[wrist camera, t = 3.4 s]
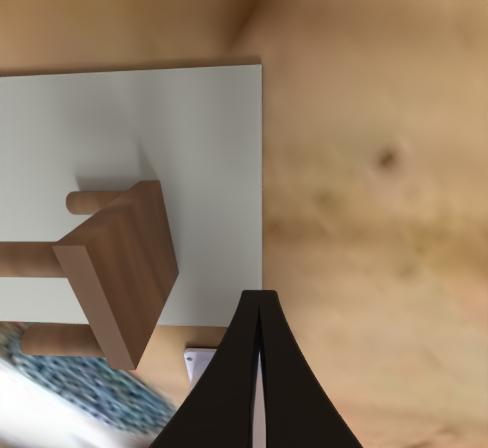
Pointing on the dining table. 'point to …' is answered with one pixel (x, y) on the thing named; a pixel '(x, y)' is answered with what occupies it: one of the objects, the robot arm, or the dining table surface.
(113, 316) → the stool
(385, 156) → the dining table surface
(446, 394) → the dining table surface
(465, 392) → the dining table surface
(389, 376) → the dining table surface
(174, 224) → the mat
